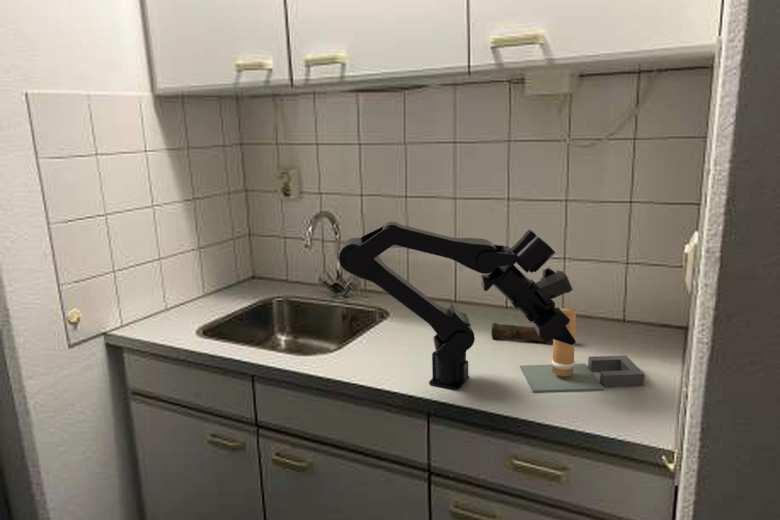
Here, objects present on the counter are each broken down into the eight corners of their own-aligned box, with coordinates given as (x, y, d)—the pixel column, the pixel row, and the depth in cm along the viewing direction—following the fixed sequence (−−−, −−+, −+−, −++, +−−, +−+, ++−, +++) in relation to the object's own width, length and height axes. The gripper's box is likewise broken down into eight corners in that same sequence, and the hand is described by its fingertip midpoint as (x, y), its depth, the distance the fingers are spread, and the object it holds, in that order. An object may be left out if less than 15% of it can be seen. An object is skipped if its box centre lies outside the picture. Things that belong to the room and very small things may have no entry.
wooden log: (489, 341, 144) (490, 323, 143) (493, 335, 148) (493, 317, 147) (570, 350, 137) (571, 331, 136) (572, 344, 141) (573, 325, 140)
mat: (532, 392, 117) (532, 390, 117) (519, 367, 129) (519, 365, 128) (604, 390, 117) (604, 388, 117) (584, 365, 128) (584, 363, 128)
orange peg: (554, 376, 120) (557, 315, 117) (548, 367, 125) (551, 308, 121) (576, 376, 120) (579, 315, 117) (570, 366, 125) (573, 307, 121)
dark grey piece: (603, 387, 118) (604, 375, 117) (588, 367, 127) (588, 356, 127) (643, 385, 118) (644, 374, 117) (625, 366, 127) (626, 355, 127)
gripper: (560, 272, 108) (617, 328, 110) (535, 249, 126) (585, 297, 128) (516, 314, 110) (573, 368, 112) (498, 286, 128) (547, 333, 130)
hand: (570, 339), depth 121 cm, fingers closed on orange peg, 4 cm apart
